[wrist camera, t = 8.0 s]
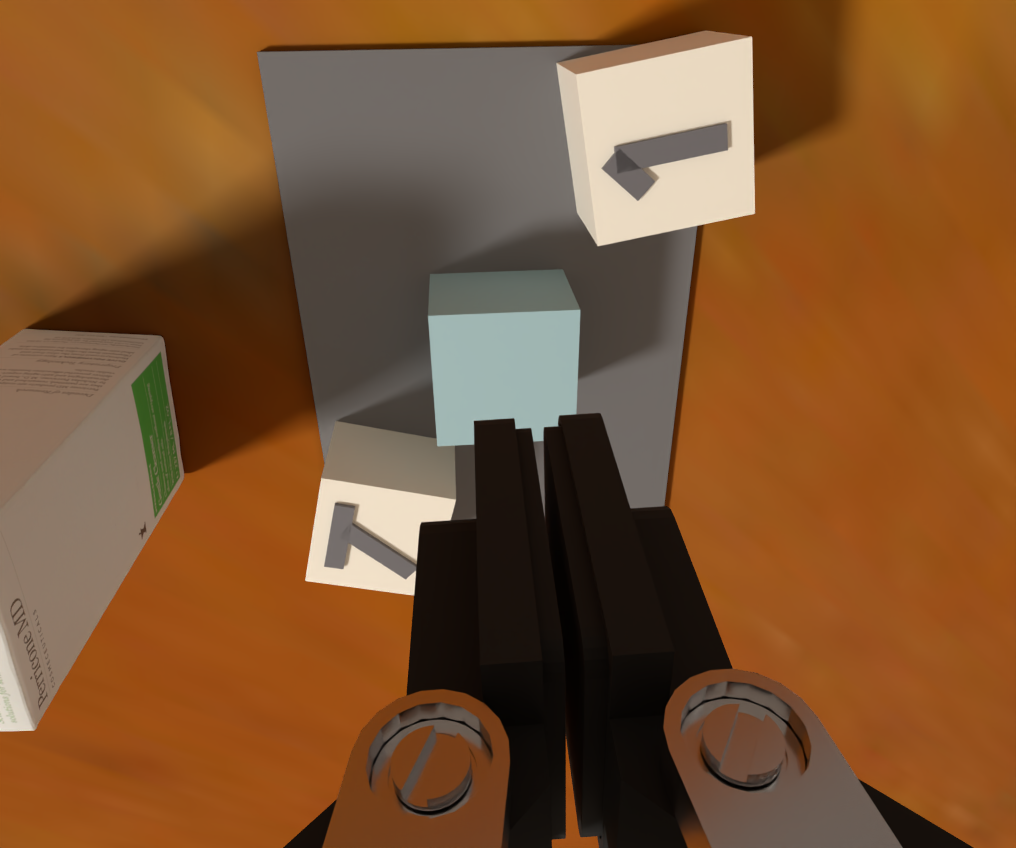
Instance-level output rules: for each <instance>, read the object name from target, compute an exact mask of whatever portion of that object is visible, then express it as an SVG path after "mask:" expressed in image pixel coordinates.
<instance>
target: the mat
mask: <svg viewBox="0 0 1016 848" xmlns="http://www.w3.org/2000/svg"><path fill="white" fill-rule="evenodd" d="M632 46H636V45H590V46H534V47H479V48H423V49H368V50H312V51H259V52H257V55H258V61H259V67H260V73H261V79H262V85H263V92H264V98H265V104H266V110H267V116H268V122H269V128H270V134H271V140H272V146H273V152H274V159H275V165H276V171H277V177H278V183H279V189H280V195H281V201H282V207H283V213H284V219H285V226H286V232H287V238H288V244H289V250H290V256H291V262H292V268H293V274H294V280H295V286H296V293H297V299H298V305H299V311H300V317H301V323H302V329H303V335H304V341H305V347H306V353H307V360H308V366H309V372H310V378H311V384H312V390H313V396H314V402H315V408H316V414H317V421H318V427H319V433H320V439H321V445H322V451H323V457H324V463H325V462H326V458H327V454H328V450H329V446H330V442H331V438H332V434H333V430H334V426H335V422H336V421H339V422H344V423H350V424H356V425H362V426H367V427H373V428H379V429H384V430H390V431H396V432H401V433H407V434H413V435H418V436H424V437H430V438H436V439H437V435H436V421H435V407H434V393H433V379H432V365H431V351H430V337H429V323H428V305H429V284H430V274H445V273H472V272H500V271H527V270H555V269H563V271H564V273H565V276H566V278H567V280H568V282H569V285H570V287H571V289H572V292H573V294H574V296H575V298H576V301H577V303H578V305H579V308H580V334H579V359H578V384H577V409H576V414H588V413H601V415H602V418H603V421H604V424H605V428H606V431H607V434H608V437H609V441H610V444H611V447H612V450H613V453H614V457H615V460H616V463H617V466H618V470H619V473H620V476H621V479H622V483H623V486H624V489H625V492H626V495H627V499H628V502H629V505H630V508H644V507H659V506H664V504H665V496H666V487H667V479H668V470H669V462H670V453H671V445H672V436H673V428H674V419H675V411H676V402H677V394H678V385H679V377H680V368H681V360H682V351H683V343H684V334H685V326H686V317H687V309H688V300H689V292H690V283H691V275H692V266H693V258H694V249H695V241H696V232H697V226H693V227H688V228H683V229H679V230H674V231H669V232H664V233H659V234H655V235H650V236H645V237H640V238H635V239H631V240H626V241H621V242H616V243H611V244H607V245H602V246H597V244H596V243H595V241H594V239H593V238H592V236H591V234H590V233H589V231H588V230H587V228H586V226H585V225H584V223H583V221H582V220H581V218H580V217H579V215H578V213H577V208H576V201H575V194H574V187H573V180H572V172H571V165H570V158H569V151H568V144H567V136H566V129H565V122H564V115H563V108H562V100H561V93H560V86H559V79H558V72H557V65H556V63H558V62H562V61H567V60H572V59H576V58H581V57H585V56H590V55H595V54H599V53H604V52H609V51H613V50H618V49H623V48H627V47H632ZM534 449H535V456H536V463H537V469H538V476H539V483H540V489H541V496H542V503H543V509H544V516H545V495H544V443H543V441H534ZM455 477H456V502H455V506H454V509H453V513H452V517H451V520H463V519H476V491H475V452H474V445H455Z"/></svg>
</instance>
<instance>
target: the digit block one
mask: <svg viewBox="0 0 1016 848" xmlns="http://www.w3.org/2000/svg"><path fill="white" fill-rule="evenodd" d="M556 65H557V72H558V79H559V86H560V93H561V100H562V108H563V115H564V122H565V129H566V136H567V144H568V151H569V158H570V165H571V172H572V180H573V187H574V194H575V201H576V208H577V213H578V215H579V217H580V218H581V220H582V221H583V223H584V225H585V226H586V228H587V230H588V231H589V233H590V234H591V236H592V238H593V239H594V241H595V243H596V244H597V246H602V245H607V244H611V243H616V242H621V241H626V240H631V239H635V238H640V237H645V236H650V235H655V234H659V233H664V232H669V231H674V230H679V229H683V228H688V227H693V226H698V225H703V224H708V223H712V222H717V221H722V220H727V219H732V218H736V217H741V216H746V215H751V214H755V189H754V124H753V58H752V37H751V36H744V35H736V34H729V33H721V32H714V31H701V32H697V33H692V34H687V35H683V36H678V37H674V38H669V39H664V40H660V41H655V42H650V43H646V44H641V45H636V46H632V47H627V48H623V49H618V50H613V51H609V52H604V53H599V54H595V55H590V56H585V57H581V58H576V59H572V60H567V61H562V62H558V63H556Z"/></svg>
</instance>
